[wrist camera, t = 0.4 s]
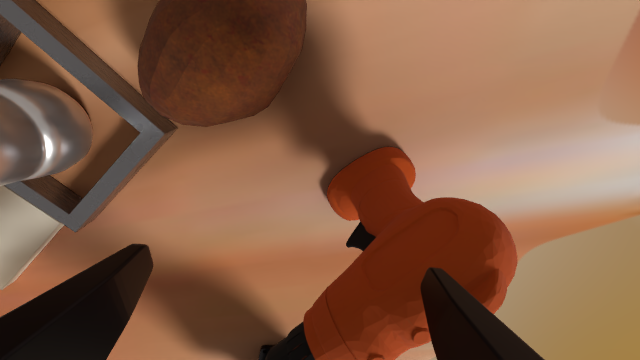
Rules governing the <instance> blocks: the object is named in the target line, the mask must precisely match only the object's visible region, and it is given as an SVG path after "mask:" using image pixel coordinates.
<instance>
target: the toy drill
mask: <svg viewBox="0 0 640 360" xmlns="http://www.w3.org/2000/svg"><path fill="white" fill-rule="evenodd" d="M415 176H416V175H415V168H414V166H413V164H412V162H411V160H410V159H409V157H408V156H407V155H406V154H405V153H404V152H402V151H401V150H399V149H397V148H394V147H383V148H379V149H376V150H374V151H371V152H369V153H367V154H365V155H363V156H362V157H360V158H358V159H356V160H355V161H353V162H352V163H350V164H349V165H348V166H346V167H345V168H343V169H342V170H341V171H340V172H339V173H338V174H337V175H336V176H335V177H334V178H333V179H332V181H331V183H330V185H329V186H328V191H327V198H328V201H329V203H330V205H331V207H332V208H333V210H334V211H335V212H336V213H337V214H338V215H339V216H341V217H342V218H344V219H346V220H349V221H351V220H358V219H360V221H361V222H360V223H359V225H358V226H357V227H356V229H355V230H354V232H353V233H352V234H351V236H350V238H349V239H348V241H347V243H346V246H347V247H355V248H359V249H361V250H362V251H363V252H362V253H361V254H360V256H359V257H358V258H357V259H356V260H355V261H354V262H353V263H352V264H351V265H350V266H349V267H348V268H347V269H346V270H345V271H344V272H343V273H342V274H341V275H340V276H339V277H338V278H337V279H336V280H335V281H334V282H333V283H332V284H331V285H330V286H329V287H327V288H326V290H325V291H324V292H323V293H322V294H321V296H320V297H319V298H318V299H317V300H316V302H315V303H314V304H313V306H312V307H311V308H310V309H309V310H308V311H307V312H306V313H305V315H304V321H303V322H302V323H301V324H299V325H298V326H297V327H295V328H294V329H293V330H292V331H291V332H290V333H289V334H288V337H286V338H285V339H283V340H282V341H280V342H279V343H278V344H276V345H275V346H273V347H272V348H271V349H270V350H269V352H268V354H267V356H266V358H265V360H395V359H396V358H397V357H398V356H399V355H401V354H402V353H403V352H405V351H407V350H408V349H410V348H414V347H418V346H421V345H423V344H426V343H428V342H430V341H431V337H430V333H429V329H428V324H427V319H426V314H425V310H424V305H423V300H422V295H421V290H420V286H421V282H422V280H423V278H424V275H425V273H426V271H427V269H428V268H429V267H435V268H441V269H443V270H444V271H445V272H447V273H448V274H449V275H450V276H451V277H452V278H453V279H454V280H456V281H457V282H458V283H459V284H460V285H461V286H462V287H463V288H465V289H466V290H467V291H468V292H469V293H470V294H471V295H472V296H473V297H475V298H476V299H477V300H478V301H479V302H480V303H481V304H482V305H484V306H485V307H486V308H487V309H488V310H489V311H490V312H491V313H493V314H494V313H495V312H496V311H497V310H498V309H499V307H500V306H501V305H502V303H503V301H504V299H505V296H506V292H507V287H508V286H509V284H510V282H511V281H512V279H513V277H514V274H515V270H516V267H517V253H516V247H515V244H514V241H513V239H512V236H511V234H510V232H509V231H508V229H507V227H506V226H505V224H504V223H503V222H502V221H501V220H500V219H499V218H498V217H497V216H496V214H494V213H492V212H491V211H489V210H488V209H486V208H485V207H483V206H482V205H480V204H477V203H474V202H471V201H468V200H464V199H458V198H435V199H431V200H429V201H426V202H424V203H423V202H422V201H421V200H420V199H418V198H417V197H416V196H415V195H414V194H413V193H412V191H411V189H410V188H411V187H412V186H413V184H414V181H415Z"/></svg>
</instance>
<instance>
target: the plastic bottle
mask: <svg viewBox="0 0 640 360" xmlns="http://www.w3.org/2000/svg"><path fill="white" fill-rule="evenodd" d="M92 138H93V128H92V124H91V121H90V119H89V117H88V115H87V113H86V112H85V110H84V109H83V108H82V106H81V105H80V104H79V103H78V102H77V101H76V100H74V99H73V98H72V97H71V96H69V95H68V94H66V93H65V92H63V91H61V90H60V89H58V88H56V87H54V86H51V85H49V84H45V83H41V82H35V81H28V80H21V79H2V80H0V186H3V185H6V184H10V183H13V182H17V181H22V180H28V179H34V178H40V177H44V176H48V175H52V174H56V173H59V172H62V171H64V170H66V169H68V168H69V167H71V166H73V165H74V164H76V163H77V162H79V161H80V160H81V159H83V158H84V157H85V156H86V154H87V153H88V151H89V149H90V147H91V143H92Z"/></svg>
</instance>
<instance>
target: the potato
mask: <svg viewBox="0 0 640 360" xmlns="http://www.w3.org/2000/svg"><path fill="white" fill-rule="evenodd" d="M306 10H307V3H306V0H160V1H159V2H158V3H157V5H156V8H155V10H154V12H153V14H152V16H151V18H150V20H149V23H148V26H147V29H146V32H145V35H144V38H143V41H142V44H141V47H140V50H139V59H138V76H139V84H140V88H141V91H142V94H143V97H144V98H145V100H146V101H147V102H148V103H149V104H150V105H151V106H152V107H153V108H154V109H155V110H156V111H157V112H158V113H159V114H160V115H162V116H164V117H167V118H169V119H171V120H174V121H176V122H178V123H180V124H183V125H193V126H205V127H208V126H212V125H217V124H221V123H226V122H230V121H235V120H239V119H242V118H246V117H250V116H254V115H255V114H257V113H258V112H260V111H262V110H263V109H265V108H266V107H268V106H269V104H270V103H271V102H272V100H273V99H274V97H275V96H276V94H277V93H278V92H279V90H280V88H281V86H282V85H283V83H284V81H285V79H286V78H287V76H288V74H289V73H290V71H291V69H292V68H293V66H294V64H295V62H296V60H297V58H298V56H299V55H300V53H301V51H302V46H303V41H304V36H305V31H306Z"/></svg>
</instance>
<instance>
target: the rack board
mask: <svg viewBox="0 0 640 360" xmlns="http://www.w3.org/2000/svg"><path fill="white" fill-rule="evenodd" d="M63 226H64V224H62V223H61V222H59V221H58V220H56V219H55V218H53V217H52V216H50V215H49V214H47V213H46V212H44V211H43V210H41V209H40V208H38V207H37V206H35V205H33V204H32V203H30V202H29V201H27V200H26V199H24V198H23V197H21V196H20V195H18V194H17V193H15V192H14V191H12V190H11V189H9V188H8V187H6V186H5V185H3V186H0V289H1V290H3V289H4V288H5V287H7V286H8V285H10V284H11V283H13V282H14V281H15V280H16V279H17V278H18V277H19V276H20V275H21V273H22V272H23V271H24V270H25V269H26V268H27V267H28V265H29V264H30V263H31V262H32V261H33V260H34V259H35V257H36V256H37V255H38V254H39V253H40V252H41V251H42V249H43V248H44V247H45V246H46V245H47V244H48V243H49V241H50V240H51V239H52V238H53V237H54V236H55V235H56V234H57V232H58V231H59V230H60V229H61V228H62V227H63Z"/></svg>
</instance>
